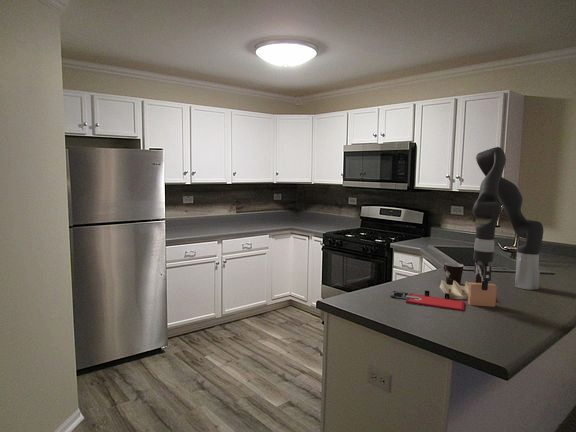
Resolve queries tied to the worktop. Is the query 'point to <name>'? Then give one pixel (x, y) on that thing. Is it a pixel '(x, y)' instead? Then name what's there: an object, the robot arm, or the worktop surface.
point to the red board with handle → (431, 300)
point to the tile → (482, 295)
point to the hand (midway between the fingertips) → (481, 287)
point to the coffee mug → (453, 272)
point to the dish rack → (455, 290)
